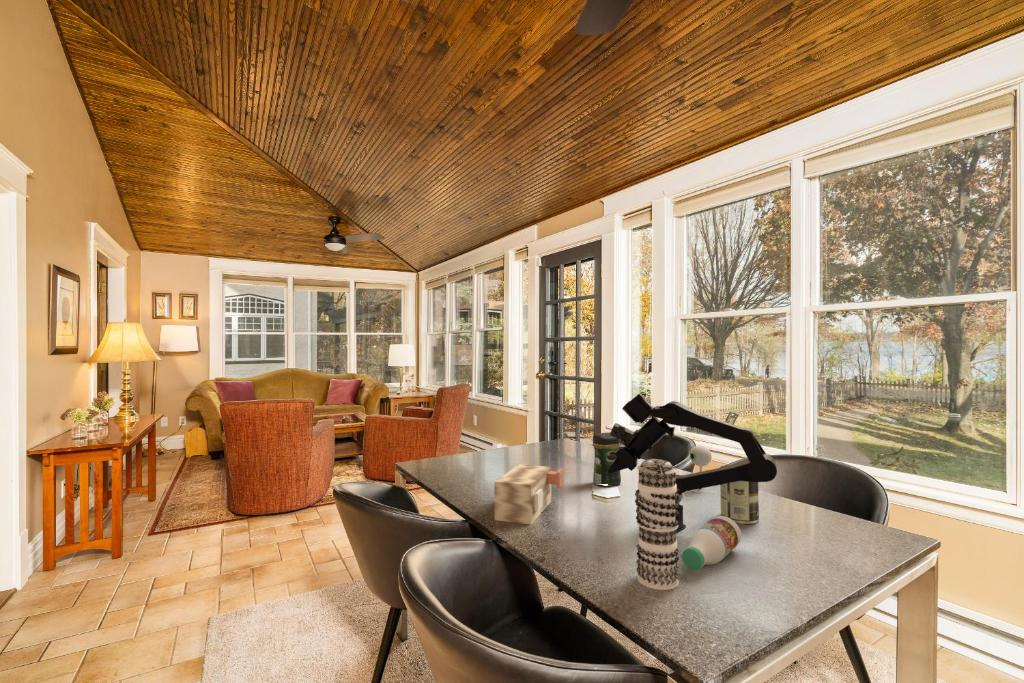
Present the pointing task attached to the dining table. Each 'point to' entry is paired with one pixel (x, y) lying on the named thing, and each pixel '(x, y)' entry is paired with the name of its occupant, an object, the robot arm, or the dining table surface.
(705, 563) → the milk bottle
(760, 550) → the dining table surface
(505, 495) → the socket block
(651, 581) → the decorative candle
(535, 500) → the cream plug
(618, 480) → the coffee jar
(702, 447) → the lollipop
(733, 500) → the coffee can
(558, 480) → the terracotta plug
